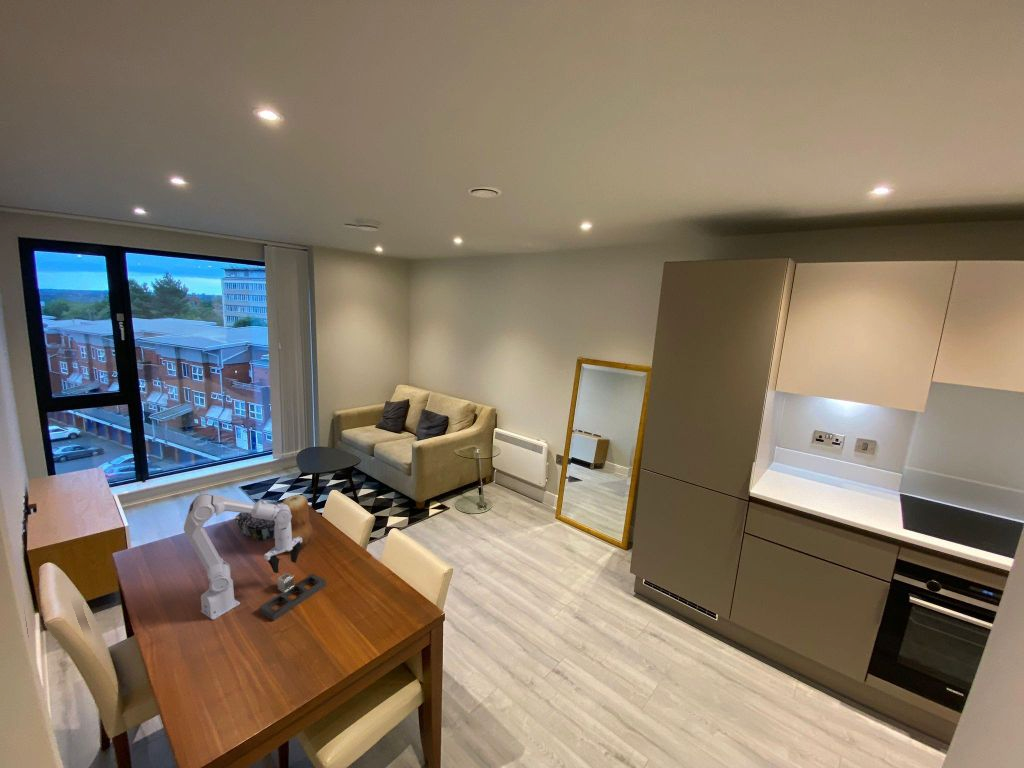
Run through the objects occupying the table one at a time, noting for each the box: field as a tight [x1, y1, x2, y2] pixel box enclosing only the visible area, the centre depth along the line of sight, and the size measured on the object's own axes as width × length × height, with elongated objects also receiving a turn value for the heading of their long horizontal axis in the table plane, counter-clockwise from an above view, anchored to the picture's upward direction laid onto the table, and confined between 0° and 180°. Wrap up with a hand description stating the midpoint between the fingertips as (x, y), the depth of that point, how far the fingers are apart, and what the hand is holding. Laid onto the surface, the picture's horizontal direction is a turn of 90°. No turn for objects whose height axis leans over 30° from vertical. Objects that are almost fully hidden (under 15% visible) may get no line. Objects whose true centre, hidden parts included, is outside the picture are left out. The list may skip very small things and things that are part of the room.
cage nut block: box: [277, 572, 295, 593], centre depth 163 cm, size 4×4×5 cm
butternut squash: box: [281, 494, 314, 548], centre depth 188 cm, size 14×13×25 cm
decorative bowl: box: [233, 502, 282, 542], centre depth 202 cm, size 26×28×10 cm
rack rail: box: [259, 573, 327, 622], centre depth 158 cm, size 22×8×2 cm, turn 153°
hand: (284, 566), depth 162 cm, fingers open, 7 cm apart
